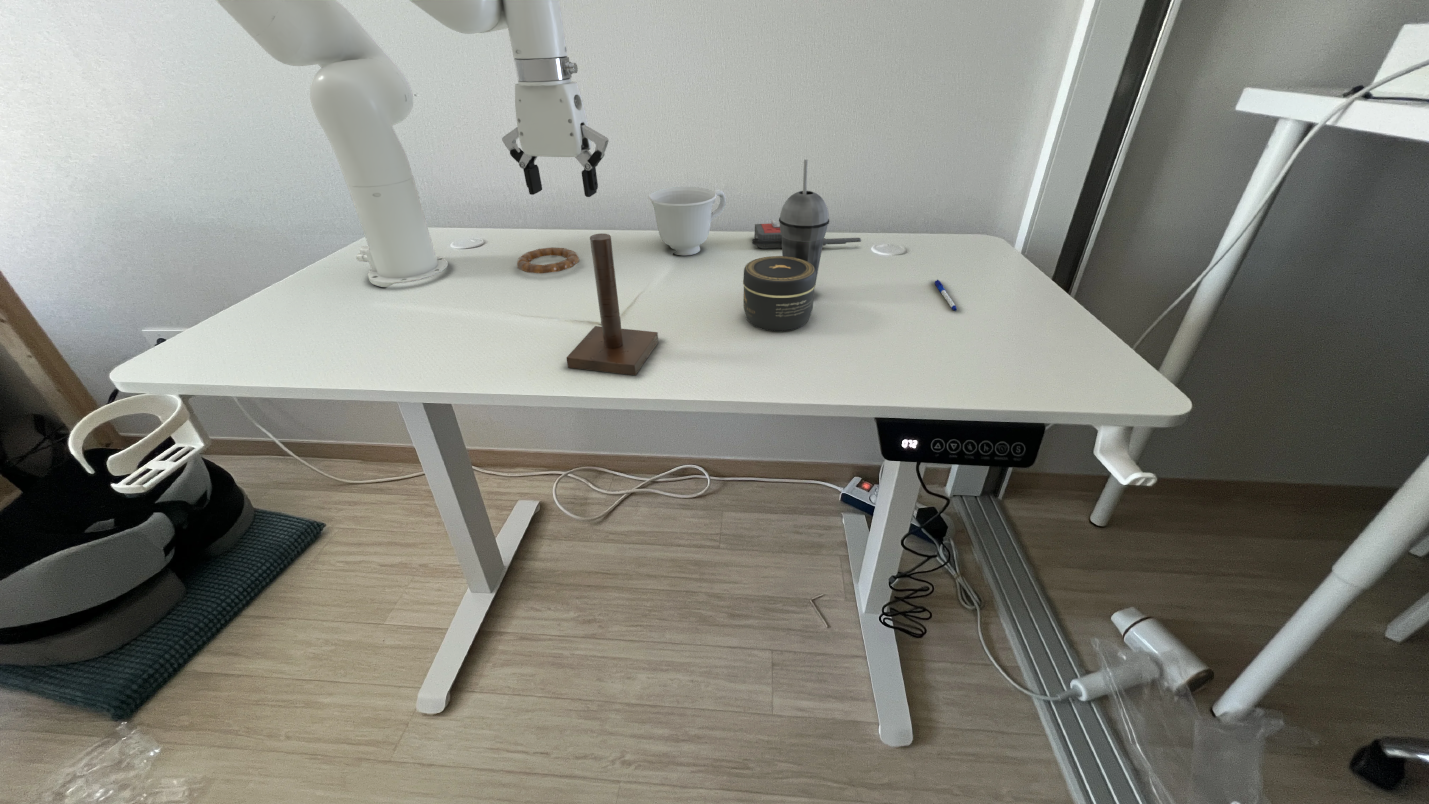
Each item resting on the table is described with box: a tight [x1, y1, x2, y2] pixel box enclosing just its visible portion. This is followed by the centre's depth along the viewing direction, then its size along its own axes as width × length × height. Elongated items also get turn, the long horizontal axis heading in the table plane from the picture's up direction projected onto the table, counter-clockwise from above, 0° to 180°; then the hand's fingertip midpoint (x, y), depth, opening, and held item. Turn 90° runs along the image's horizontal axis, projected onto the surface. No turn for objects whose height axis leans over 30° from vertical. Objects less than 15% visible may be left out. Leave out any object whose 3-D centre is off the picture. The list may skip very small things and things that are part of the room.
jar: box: [742, 255, 817, 332], centre depth 82 cm, size 10×10×8 cm
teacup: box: [648, 186, 727, 256], centre depth 107 cm, size 12×15×10 cm
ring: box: [516, 246, 580, 274], centre depth 102 cm, size 10×10×2 cm
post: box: [566, 233, 659, 376], centre depth 72 cm, size 9×9×16 cm
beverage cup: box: [778, 159, 830, 283], centre depth 86 cm, size 7×7×20 cm
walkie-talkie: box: [751, 219, 862, 250], centre depth 110 cm, size 9×4×20 cm
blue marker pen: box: [934, 279, 957, 312], centre depth 90 cm, size 10×1×1 cm, turn 179°
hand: (563, 193), depth 94 cm, fingers open, 9 cm apart
